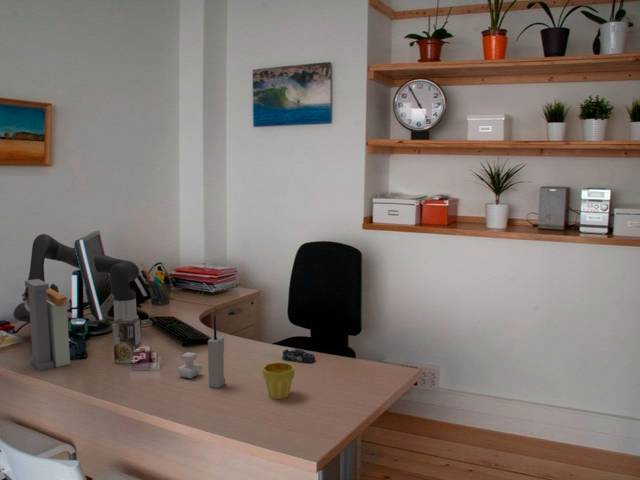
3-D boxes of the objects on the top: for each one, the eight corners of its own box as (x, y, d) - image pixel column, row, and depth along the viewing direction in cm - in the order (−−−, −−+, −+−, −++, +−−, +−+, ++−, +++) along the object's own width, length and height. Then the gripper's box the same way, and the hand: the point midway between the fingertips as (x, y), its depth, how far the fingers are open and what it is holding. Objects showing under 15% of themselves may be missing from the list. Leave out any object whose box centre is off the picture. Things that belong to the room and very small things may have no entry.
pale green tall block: (59, 356, 244) (56, 297, 240) (70, 364, 235) (66, 302, 231) (46, 358, 241) (42, 299, 237) (56, 367, 232) (52, 304, 228)
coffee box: (143, 358, 241) (141, 318, 239) (136, 364, 235) (135, 323, 233) (120, 357, 242) (118, 318, 240) (113, 363, 236) (111, 322, 233)
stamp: (205, 375, 223) (204, 353, 222) (193, 381, 217) (193, 358, 216) (185, 371, 227) (185, 349, 226) (173, 377, 221) (173, 354, 220)
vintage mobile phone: (225, 383, 215) (223, 314, 212) (218, 388, 211) (216, 317, 207) (215, 382, 217) (214, 313, 213) (208, 387, 212) (207, 316, 208)
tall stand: (43, 359, 240) (38, 279, 235) (53, 367, 231) (48, 284, 226) (30, 362, 237) (24, 280, 232) (39, 370, 228) (34, 286, 223)
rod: (46, 293, 246) (46, 286, 245) (67, 305, 228) (66, 297, 227) (38, 294, 244) (38, 287, 243) (58, 306, 226) (58, 298, 225)
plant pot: (282, 404, 198) (282, 374, 196) (257, 397, 203) (256, 368, 202) (300, 393, 207) (300, 365, 205) (275, 387, 212) (275, 359, 211)
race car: (320, 360, 241) (320, 348, 241) (316, 365, 235) (316, 354, 234) (284, 356, 245) (284, 346, 244) (279, 362, 238) (278, 351, 238)
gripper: (15, 295, 249) (24, 280, 237) (52, 290, 259) (63, 275, 246) (19, 312, 247) (28, 298, 235) (56, 307, 257) (67, 293, 244)
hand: (46, 287), depth 241 cm, fingers open, 5 cm apart
